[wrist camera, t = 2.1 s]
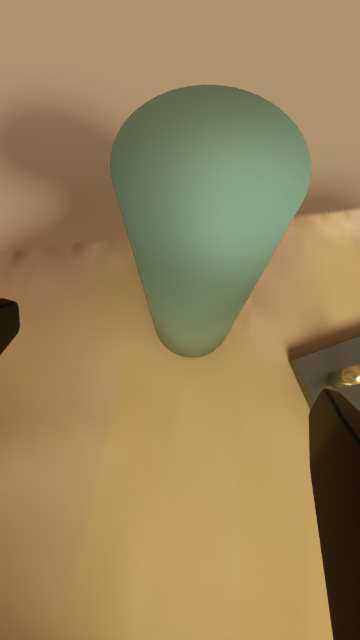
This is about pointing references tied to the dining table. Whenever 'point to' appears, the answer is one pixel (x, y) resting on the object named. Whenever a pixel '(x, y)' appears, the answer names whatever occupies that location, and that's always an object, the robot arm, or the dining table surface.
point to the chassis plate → (331, 371)
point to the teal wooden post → (206, 204)
